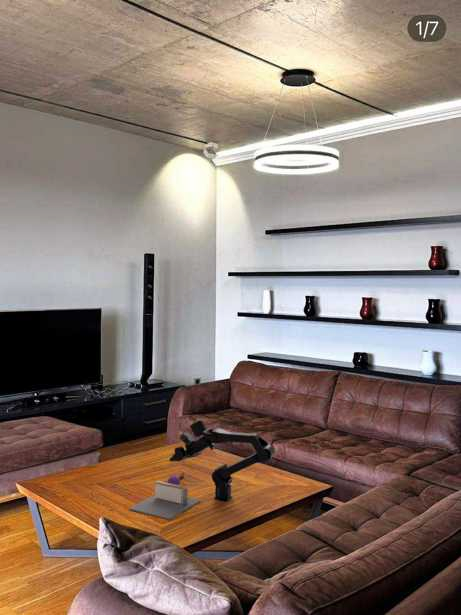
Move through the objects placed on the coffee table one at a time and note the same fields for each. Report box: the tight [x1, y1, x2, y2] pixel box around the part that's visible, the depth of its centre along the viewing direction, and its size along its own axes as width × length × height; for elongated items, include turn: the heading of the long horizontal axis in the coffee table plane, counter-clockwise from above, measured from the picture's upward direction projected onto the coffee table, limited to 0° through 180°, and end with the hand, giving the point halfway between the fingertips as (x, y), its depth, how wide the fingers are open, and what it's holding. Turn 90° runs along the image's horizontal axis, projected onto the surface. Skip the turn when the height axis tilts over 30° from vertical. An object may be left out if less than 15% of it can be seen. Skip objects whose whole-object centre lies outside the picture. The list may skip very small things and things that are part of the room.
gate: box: [155, 480, 184, 503], centre depth 269 cm, size 14×2×7 cm, turn 61°
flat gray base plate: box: [128, 487, 201, 521], centre depth 265 cm, size 22×24×8 cm
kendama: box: [167, 469, 185, 486], centre depth 295 cm, size 6×6×20 cm
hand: (174, 459), depth 283 cm, fingers open, 9 cm apart
